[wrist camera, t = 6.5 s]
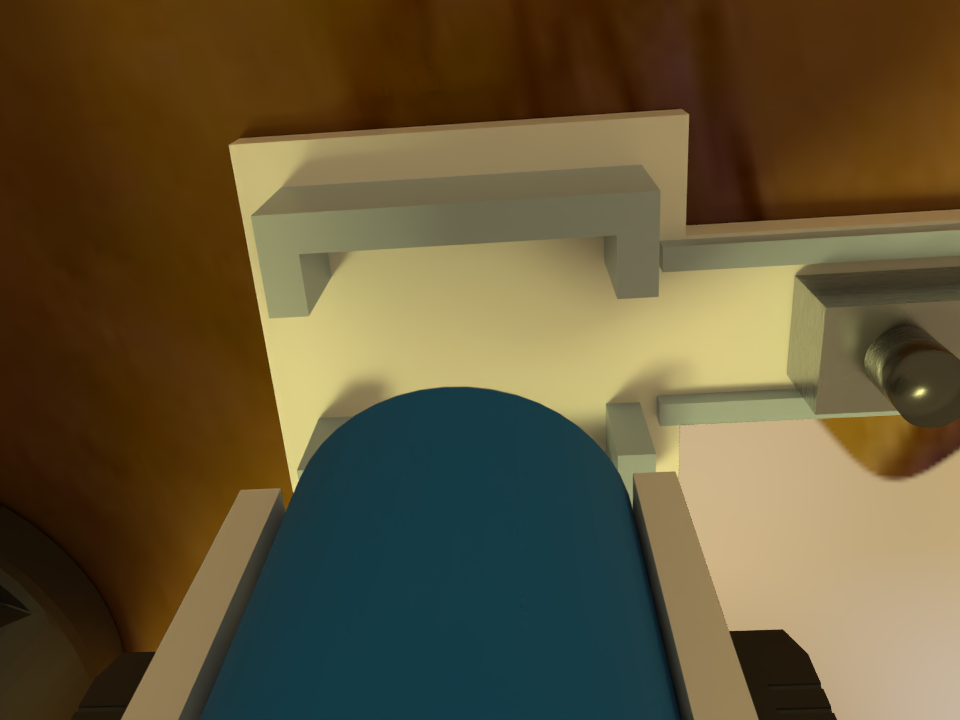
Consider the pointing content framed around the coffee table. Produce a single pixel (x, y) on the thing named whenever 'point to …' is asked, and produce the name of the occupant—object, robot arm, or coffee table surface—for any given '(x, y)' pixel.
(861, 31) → the coffee table surface
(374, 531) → the beverage can
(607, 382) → the dock station
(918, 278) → the bar
